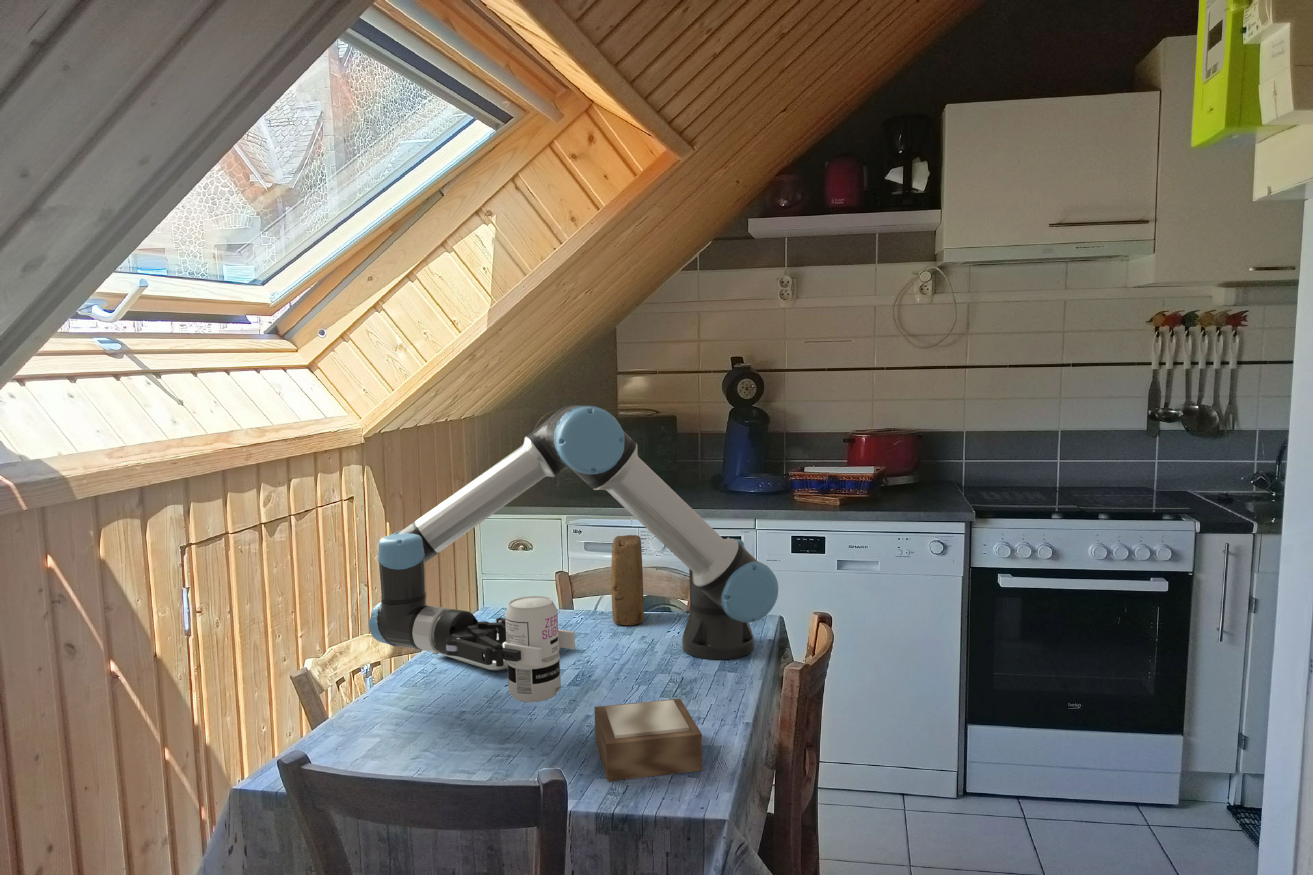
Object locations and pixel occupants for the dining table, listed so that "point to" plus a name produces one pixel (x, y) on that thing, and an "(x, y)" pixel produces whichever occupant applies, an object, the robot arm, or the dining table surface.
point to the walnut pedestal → (647, 739)
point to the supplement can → (537, 628)
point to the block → (627, 580)
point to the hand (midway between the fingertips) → (557, 648)
